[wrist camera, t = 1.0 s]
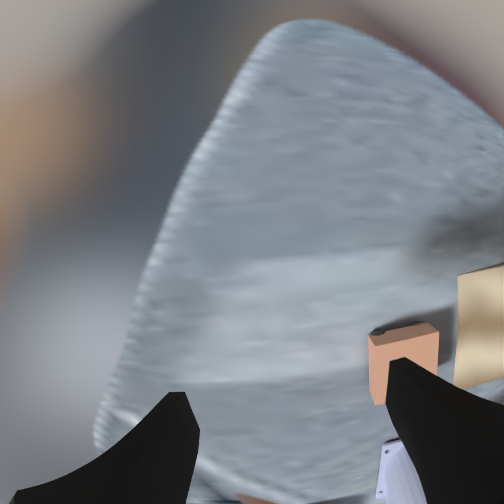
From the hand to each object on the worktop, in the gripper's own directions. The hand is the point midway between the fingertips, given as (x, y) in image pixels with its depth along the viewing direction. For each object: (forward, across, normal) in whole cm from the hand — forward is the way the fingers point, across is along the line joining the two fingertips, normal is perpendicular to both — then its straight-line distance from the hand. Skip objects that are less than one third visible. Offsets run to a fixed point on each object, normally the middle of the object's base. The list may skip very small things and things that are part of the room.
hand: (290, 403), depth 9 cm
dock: (+10, -23, +7) cm, 26 cm away
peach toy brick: (+11, -9, +7) cm, 16 cm away
